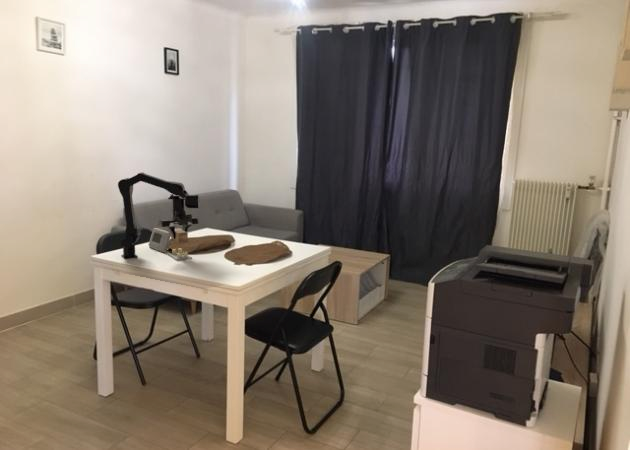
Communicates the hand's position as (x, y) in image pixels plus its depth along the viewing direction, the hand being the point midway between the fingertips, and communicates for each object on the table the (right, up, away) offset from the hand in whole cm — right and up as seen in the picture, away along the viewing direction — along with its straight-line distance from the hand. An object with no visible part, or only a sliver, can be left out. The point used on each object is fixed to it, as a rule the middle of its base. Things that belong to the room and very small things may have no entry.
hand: (179, 238), depth 257 cm
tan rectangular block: (0, -1, 0) cm, 1 cm away
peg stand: (0, -9, +2) cm, 10 cm away
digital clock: (-15, -7, +15) cm, 22 cm away
